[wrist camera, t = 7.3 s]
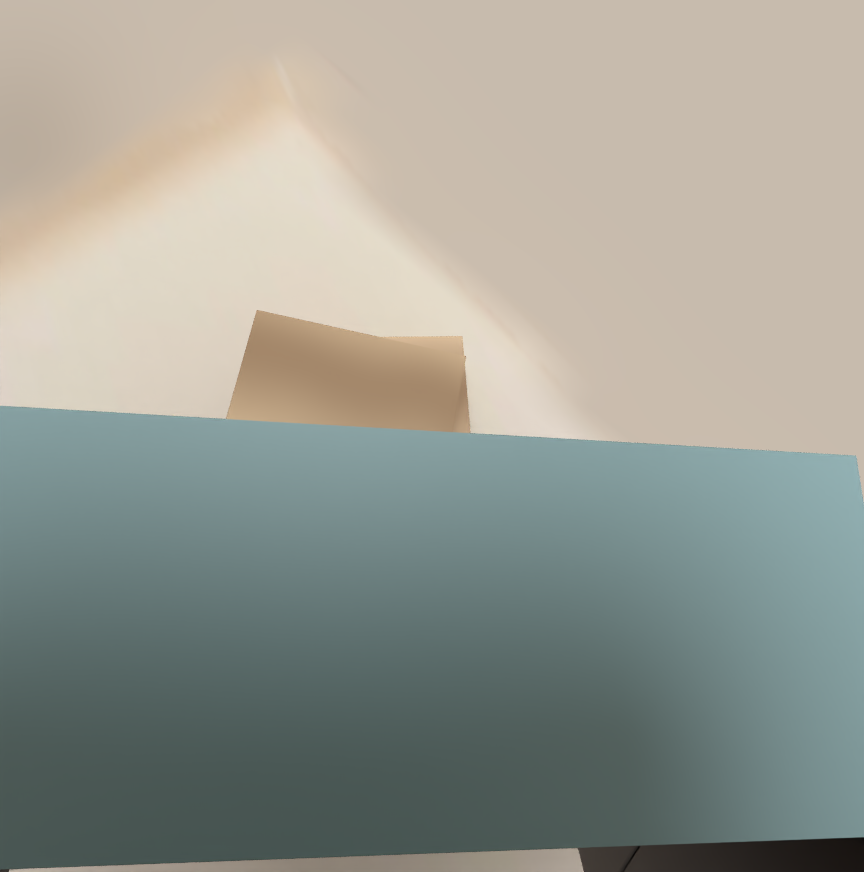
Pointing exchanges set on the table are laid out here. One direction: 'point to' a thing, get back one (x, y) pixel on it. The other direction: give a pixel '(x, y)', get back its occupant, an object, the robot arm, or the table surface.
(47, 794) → the teal rectangular block
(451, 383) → the offcut stack
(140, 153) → the table surface
